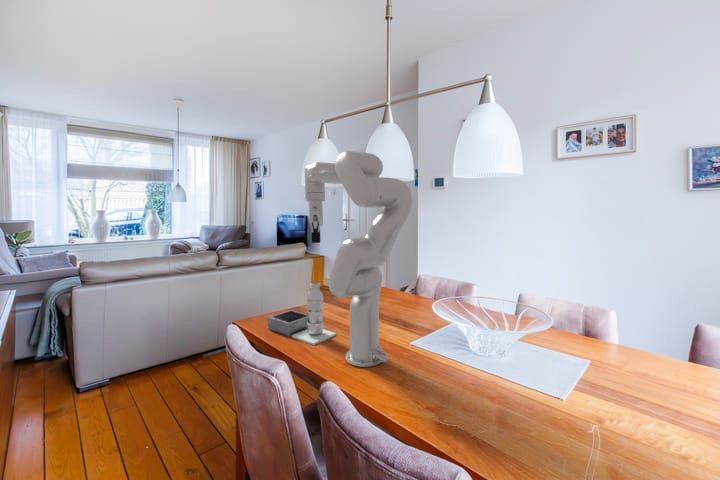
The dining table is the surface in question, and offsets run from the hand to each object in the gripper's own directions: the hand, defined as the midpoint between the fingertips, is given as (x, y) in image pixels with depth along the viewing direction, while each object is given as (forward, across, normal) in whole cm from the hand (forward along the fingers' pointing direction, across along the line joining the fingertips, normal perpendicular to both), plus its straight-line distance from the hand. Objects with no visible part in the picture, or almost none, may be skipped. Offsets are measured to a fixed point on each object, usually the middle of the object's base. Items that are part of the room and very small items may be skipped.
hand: (316, 241), depth 131 cm
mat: (+36, -6, +1) cm, 37 cm away
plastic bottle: (+36, -5, +1) cm, 36 cm away
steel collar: (+36, +4, +11) cm, 38 cm away
